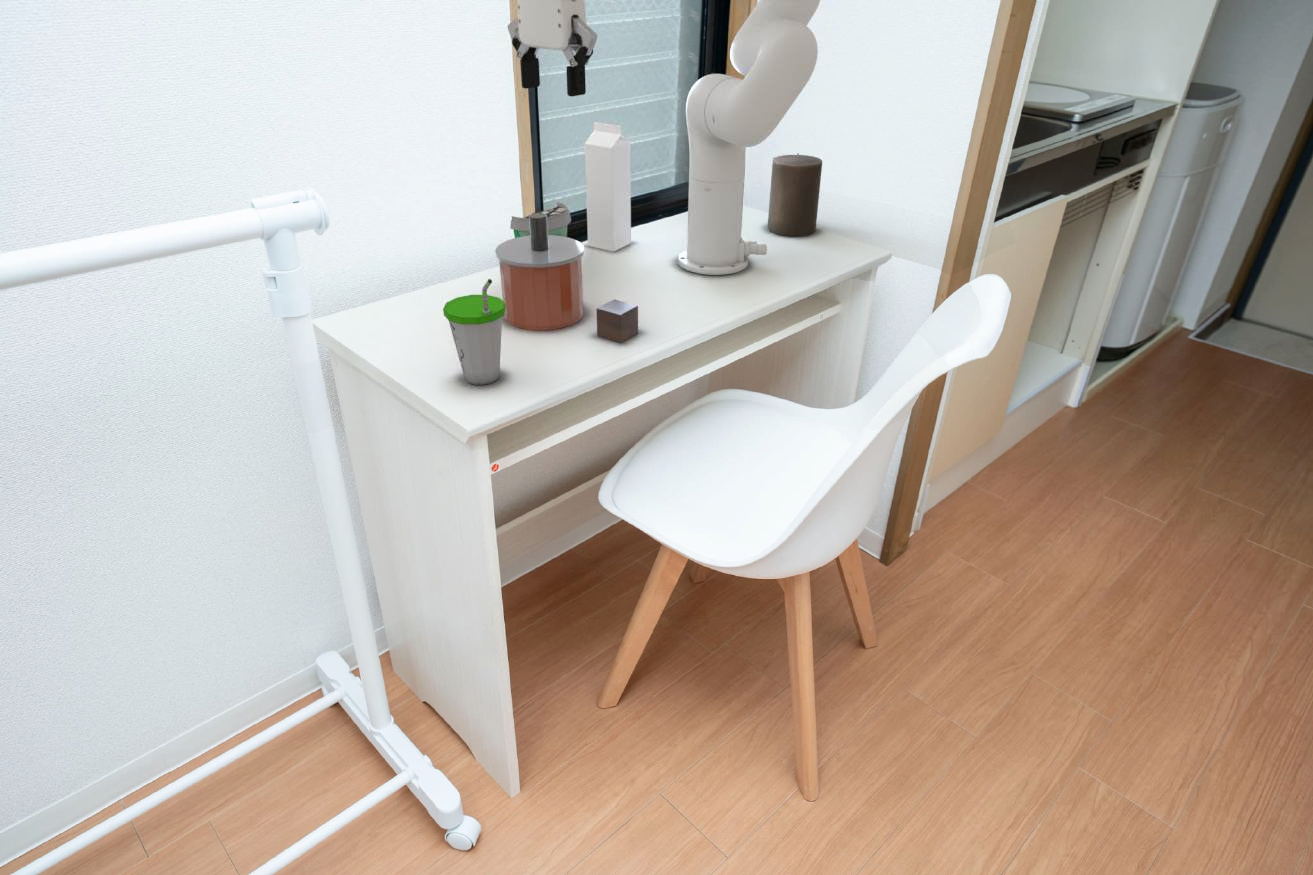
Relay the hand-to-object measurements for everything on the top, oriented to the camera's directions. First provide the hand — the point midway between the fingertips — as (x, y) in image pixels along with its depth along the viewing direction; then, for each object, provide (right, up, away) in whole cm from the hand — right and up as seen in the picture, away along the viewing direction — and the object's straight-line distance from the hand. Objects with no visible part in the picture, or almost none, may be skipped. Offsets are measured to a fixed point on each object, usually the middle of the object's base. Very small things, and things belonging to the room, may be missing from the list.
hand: (553, 91), depth 126 cm
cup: (-8, -44, -12) cm, 46 cm away
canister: (-2, -32, +6) cm, 33 cm away
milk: (+6, -15, +36) cm, 39 cm away
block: (+10, -36, 0) cm, 37 cm away
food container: (-3, -22, +24) cm, 33 cm away
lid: (-2, -24, +1) cm, 24 cm away
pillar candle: (+43, -10, +45) cm, 63 cm away
